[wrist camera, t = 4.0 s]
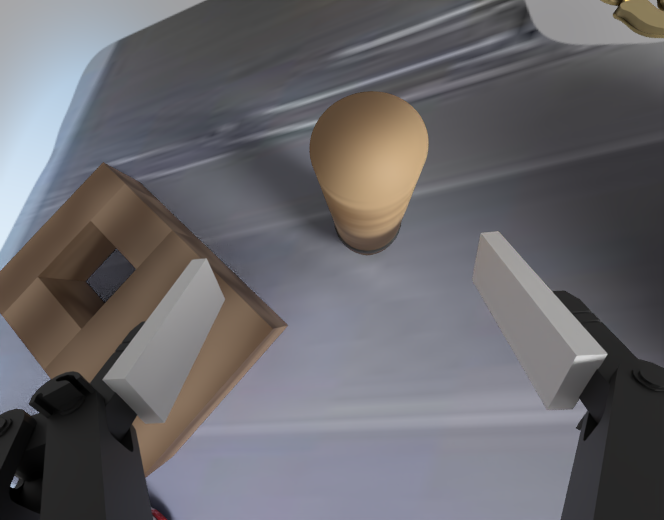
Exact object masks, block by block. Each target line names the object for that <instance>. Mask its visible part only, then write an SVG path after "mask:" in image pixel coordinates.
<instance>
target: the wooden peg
mask: <svg viewBox="0 0 664 520" xmlns="http://www.w3.org/2000/svg"><path fill="white" fill-rule="evenodd" d="M428 145H429V144H428V134H427V129H426V127H425V124H424V122H423V120H422V118H421V116H420V115H419V114H418V112H417V111H416V110H415V109H414V108H413V107H412V106H411V105H410V104H408V103H407V102H406V101H404V100H402V99H401V98H399V97H397V96H394V95H391V94H388V93H383V92H373V91H369V92H361V93H356V94H352V95H349V96H347V97H345V98H342V99H341V100H339V101H337V102H336V103H334V104H333V105H332V106H330V107H329V108H328V109H327V110H326V111H325V112H324V113H323V114H322V116H321V117H320V118H319V120H318V121H317V123H316V125H315V127H314V129H313V132H312V135H311V139H310V159H311V162H312V166H313V168H314V171H315V174H316V176H317V179H318V181H319V184H320V186H321V189H322V192H323V194H324V197H325V199H326V202H327V205H328V207H329V210H330V212H331V215H332V218H333V220H334V224H335V229H336V232H337V234H338V237H339V238H340V240H341V241H342V242H343V244H344V245H346V246H347V247H348V248H349V249H350V250H352V251H354V252H356V253H359V254H362V255H373V254H376V253H379V252H381V251H383V250H385V249H386V248H387V247H388V246H389V245H390V244H391V243H392V242H393V241H394V240H395V239H396V237H397V235H398V233H399V230H400V227H401V221H402V218H403V216H404V213H405V211H406V208H407V206H408V203H409V201H410V198H411V196H412V193H413V191H414V188H415V186H416V183H417V181H418V178H419V176H420V173H421V171H422V168H423V165H424V163H425V160H426V157H427V153H428Z"/></svg>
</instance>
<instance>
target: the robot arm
mask: <svg viewBox="0 0 664 520" xmlns="http://www.w3.org/2000/svg"><path fill="white" fill-rule="evenodd" d="M472 281H473V283H474V284H475V286H476V288H477V289H478V291H479V293H480V295H481V296H482V298H483V300H484V302H485V303H486V305H487V307H488V309H489V310H490V312H491V314H492V315H493V317H494V319H495V321H496V322H497V324H498V326H499V328H500V329H501V331H502V333H503V334H504V336H505V338H506V340H507V341H508V343H509V345H510V347H511V348H512V350H513V352H514V354H515V355H516V357H517V359H518V360H519V362H520V364H521V366H522V367H523V369H524V371H525V373H526V374H527V376H528V378H529V380H530V381H531V383H532V385H533V386H534V388H535V390H536V392H537V393H538V395H539V397H540V399H541V400H542V402H543V404H544V406H545V407H546V409H547V410H565V409H573V408H574V407H575V405H576V403H577V402H578V400H579V399H580V400H581V401H582V403H583V404H584V406H585V407H586V409H587V410H588V411H587V412H586V414H585V415H584V417H583V418H582V419H581V421H580V422H579V424H578V425H577V427H576V429H578V430H581V432H580V437H579V441H578V446H577V450H576V455H575V459H574V463H573V468H572V472H571V477H570V481H569V485H568V490H567V494H566V499H565V503H564V508H563V512H562V516H561V520H664V368H662V367H660V366H658V365H656V364H654V363H651V362H647V361H644V360H640V359H638V358H636V357H635V356H634V355H633V354H632V353H631V352H630V351H629V349H628V348H627V347H626V346H625V345H624V344H623V343H622V342H621V341H620V340H619V339H618V338H617V337H616V336H615V335H614V334H613V333H612V332H611V331H610V330H609V329H608V328H607V327H606V326H605V325H604V324H603V323H602V322H600V320H599V319H598V318H597V317H596V316H595V315H594V314H593V313H591V311H590V310H589V308H588V307H587V306H586V305H585V304H584V303H583V302H582V301H581V300H580V299H578V298H576V297H575V296H573V295H571V294H570V293H568V292H566V291H551V290H550V289H549V288H548V286H547V285H546V284H545V283H544V282H543V281H542V280H541V279H540V277H539V276H538V275H537V274H536V273H535V272H534V271H533V270H532V268H531V267H530V266H529V265H528V264H527V263H526V262H525V261H524V259H523V258H522V257H521V256H520V255H519V254H518V253H517V252H516V250H515V249H514V248H513V247H512V246H511V245H510V244H509V243H508V241H507V240H506V239H505V238H504V237H503V236H502V235H501V234H500V232H499V231H496V232H485V233H481V234H480V240H479V245H478V251H477V256H476V262H475V267H474V273H473V278H472ZM224 301H225V298H224V296H223V293H222V291H221V289H220V287H219V285H218V282H217V280H216V278H215V276H214V273H213V271H212V269H211V267H210V265H209V262H208V260H207V258H205V259H194V260H192V261H191V262H190V263H189V265H188V266H187V267H186V269H185V270H184V271H183V273H182V274H181V275H180V277H179V278H178V279H177V281H176V282H175V283H174V285H173V286H172V287H171V289H170V290H169V291H168V293H167V294H166V295H165V297H164V298H163V299H162V301H161V302H160V303H159V305H158V306H157V307H156V309H155V310H154V311H153V313H152V314H151V315H150V317H149V318H148V319H147V321H143V322H141V323H140V324H138V325H137V326H136V327H135V328H133V329H132V330H131V331H130V332H129V333H128V335H127V336H126V337H125V338H124V340H123V341H122V344H120V345H119V346H118V347H117V349H116V350H115V353H113V354H112V355H111V356H110V358H109V359H108V360H107V362H106V363H105V364H104V365H103V367H102V368H101V369H100V371H99V372H98V373H97V374H96V376H95V377H94V378H93V380H92V381H91V382H90V383H89V382H88V381H87V380H86V379H85V378H84V377H83V376H82V375H81V374H80V373H78V372H75V371H71V372H65V373H63V374H60V375H58V376H56V377H54V378H52V379H51V380H49V381H48V382H46V383H45V384H44V385H43V386H41V387H40V388H39V389H38V390H37V391H36V393H35V394H34V395H33V396H32V398H31V400H30V403H29V405H30V406H32V407H33V408H34V409H36V410H37V411H38V412H40V413H38V414H35V415H32V416H30V415H29V414H28V413H26V412H25V411H24V410H22V409H14V410H10V411H7V412H5V413H3V414H1V415H0V520H153V516H152V510H151V505H150V500H149V495H148V490H147V485H146V479H145V474H144V469H143V464H142V459H141V454H140V448H139V443H138V438H137V433H136V429H135V428H134V426H133V425H132V423H133V421H134V420H135V418H136V416H138V417H139V418H140V419H141V420H142V421H143V422H144V423H145V424H149V423H165V421H166V419H167V417H168V415H169V413H170V411H171V409H172V407H173V405H174V403H175V401H176V399H177V397H178V395H179V393H180V391H181V388H182V386H183V384H184V382H185V380H186V378H187V376H188V374H189V372H190V370H191V368H192V366H193V364H194V362H195V360H196V358H197V356H198V354H199V352H200V350H201V348H202V346H203V343H204V341H205V339H206V337H207V335H208V333H209V331H210V329H211V327H212V325H213V323H214V321H215V319H216V317H217V315H218V313H219V311H220V309H221V307H222V305H223V303H224ZM14 476H16V477H18V478H19V480H18V483H17V485H16V486H15V488H11V487H10V485H11V482H12V480H13V477H14Z"/></svg>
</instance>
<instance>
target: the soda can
mask: <svg viewBox="0 0 664 520" xmlns="http://www.w3.org/2000/svg"><path fill="white" fill-rule="evenodd" d="M151 510H152V516H153V520H167V519H166V518H165V517H164V516H163V514H161V513H160V512H159V511H158V510H156V509H154V508H152V507H151Z"/></svg>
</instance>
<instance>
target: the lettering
mask: <svg viewBox="0 0 664 520" xmlns="http://www.w3.org/2000/svg"><path fill="white" fill-rule="evenodd" d="M600 1H602V2H604V3H606V4H609V5H614V6H618V8H617V9H616V10H615V12H614V13H613V17H614V18H615V19H617V20H619V21H621V22H622V23H624V24H625V25H626V26H627V27H628V28H629V29H631V30H632V31H633V32H635V33H637V34H639V35H641V36H645V37H649V38H664V0H657V7H658V8H659V9H657V8H656V7H655V6H654V5H652V4H651V3H650V2H649V1H648V0H600Z"/></svg>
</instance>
